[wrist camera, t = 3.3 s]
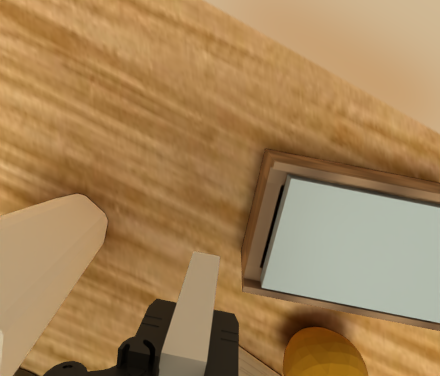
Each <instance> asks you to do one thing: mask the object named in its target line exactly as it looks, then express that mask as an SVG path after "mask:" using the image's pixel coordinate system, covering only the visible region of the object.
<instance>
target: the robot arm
mask: <svg viewBox="0 0 440 376" xmlns="http://www.w3.org/2000/svg"><path fill="white" fill-rule="evenodd" d="M219 263H220V256H216V255H211V254H206V253H201V252H196V251H193V254H192V257H191V260H190V264H189V267H188V270H187V273H186V276H185V279H184V282H183V286H182V289H181V292H180V295H179V298H178V301H177V303H175V302H170V301H165V300H161V299H156V300H155V301H154V302H153V303H152V304H151V305H149V307H148V309H147V311H146V314H145V316H144V318H143V320H142V322H141V325H140V327H139V329H138V331H137V333H136V336H135V337H131V338H129V339H127V340H126V341H124V342H123V343H122V344H121V346H120V347H119V348H118V357H117V365H116V366H114V367H111V368H109V369H105V370H99V371H90V372H87V369H86V367H85V366H84V365H82V364H81V363H79V362H75V361H70V362H63V363H61V364H58V365H56V366H54V367H53V368H51V369H50V370H49V371H47V372H46V373H45V374H44V375H43V376H239V375H238V372H239V344H238V342H239V335H238V334H239V323H238V321H237V319H236V317H235V315H234V314H232V313H227V312H223V311H218V310H214V302H215V294H216V286H217V278H218V271H219ZM13 376H35V375H33V374H31V373H29V372H27V371H25V370H22V369H17V371H16V372H15V373H14V375H13Z"/></svg>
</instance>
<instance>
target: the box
mask: <svg viewBox="0 0 440 376" xmlns="http://www.w3.org/2000/svg"><path fill="white" fill-rule="evenodd" d="M288 174H290V175H295V176H300V177H305V178H310V179H315V180H320V181H325V182H330V183H335V184H340V185H345V186H351V187H356V188H361V189H366V190H371V191H376V192H381V193H386V194H391V195H396V196H401V197H406V198H411V199H416V200H421V201H426V202H431V203H436V204H440V183H437V182H432V181H427V180H422V179H417V178H412V177H407V176H402V175H397V174H392V173H387V172H382V171H376V170H371V169H366V168H361V167H356V166H351V165H346V164H341V163H336V162H331V161H326V160H321V159H316V158H311V157H306V156H301V155H296V154H290V153H285V152H280V151H275V150H270V149H265V152H264V156H263V161H262V165H261V169H260V173H259V178H258V182H257V186H256V190H255V195H254V199H253V203H252V207H251V211H250V216H249V220H248V224H247V228H246V233H245V237H244V241H243V245H242V250H241V267H242V292H246V293H251V294H256V295H261V296H266V297H271V298H276V299H281V300H286V301H291V302H296V303H301V304H306V305H311V306H316V307H322V308H327V309H332V310H337V311H342V312H347V313H352V314H357V315H362V316H367V317H372V318H377V319H382V320H387V321H392V322H397V323H402V324H407V325H412V326H417V327H422V328H427V329H432V330H437V331H440V323H437V322H432V321H427V320H422V319H417V318H412V317H407V316H402V315H397V314H392V313H387V312H382V311H377V310H372V309H366V308H361V307H356V306H351V305H346V304H341V303H336V302H331V301H326V300H321V299H316V298H311V297H306V296H301V295H296V294H291V293H286V292H281V291H276V290H271V289H266V288H262V286H261V279H260V277H261V273H262V269H263V265H264V262H265V258H266V254H267V250H268V247H269V243H270V239H271V235H272V232H273V228H274V224H275V220H276V217H277V213H278V209H279V205H280V202H281V198H282V194H283V190H284V187H285V183H286V179H287V175H288Z"/></svg>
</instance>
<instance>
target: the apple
mask: <svg viewBox="0 0 440 376" xmlns="http://www.w3.org/2000/svg"><path fill="white" fill-rule="evenodd" d="M283 374H284V376H368V372H367V368H366V365H365V362H364V360H363V358H362V356H361V354H360V353H359V351H358V350H357V349H356V348H355V346H354V345H353V344H352V343H351V342H350V341H349V340H348V339H346V338H345V337H344V336H342V335H340V334H338V333H336V332H334V331H331V330H329V329H326V328H322V327H308V328H304V329H301V330H300V331H298V332H297V333H295V334H294V336H293V337H292V338H291V339H290V341H289V343H288V345H287V347H286V350H285V353H284V360H283Z"/></svg>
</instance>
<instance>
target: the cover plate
mask: <svg viewBox="0 0 440 376" xmlns="http://www.w3.org/2000/svg"><path fill="white" fill-rule="evenodd" d="M260 279H261V286H262V288H266V289H271V290H276V291H281V292H286V293H291V294H296V295H301V296H306V297H311V298H316V299H321V300H326V301H331V302H336V303H341V304H346V305H351V306H356V307H361V308H366V309H372V310H377V311H382V312H387V313H392V314H397V315H402V316H407V317H412V318H417V319H422V320H427V321H432V322H437V323H440V204H436V203H431V202H426V201H421V200H416V199H411V198H406V197H401V196H396V195H391V194H386V193H381V192H376V191H371V190H366V189H361V188H356V187H351V186H345V185H340V184H335V183H330V182H325V181H320V180H315V179H310V178H305V177H300V176H295V175H290V174H288V175H287V179H286V183H285V187H284V190H283V194H282V198H281V202H280V205H279V209H278V213H277V217H276V220H275V224H274V228H273V232H272V235H271V239H270V243H269V247H268V250H267V254H266V258H265V262H264V265H263V269H262V273H261V277H260Z"/></svg>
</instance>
